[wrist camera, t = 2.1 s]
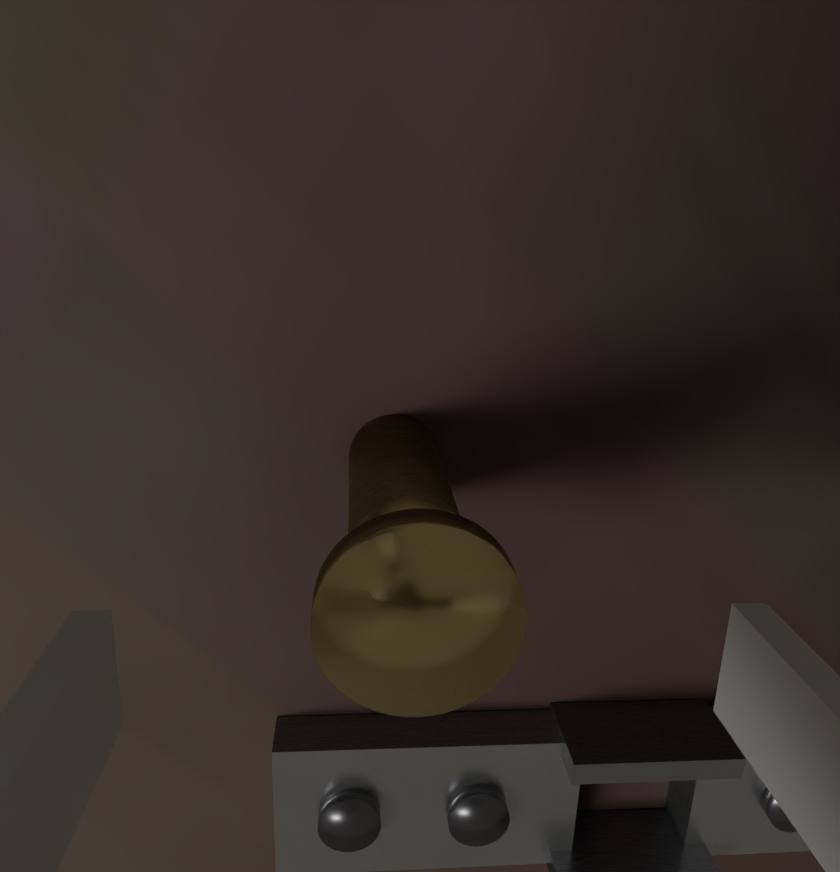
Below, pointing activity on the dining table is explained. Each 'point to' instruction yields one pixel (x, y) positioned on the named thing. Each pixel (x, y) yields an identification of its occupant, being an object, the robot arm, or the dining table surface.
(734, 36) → the dining table surface
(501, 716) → the grey long bar piece
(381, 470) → the pin
